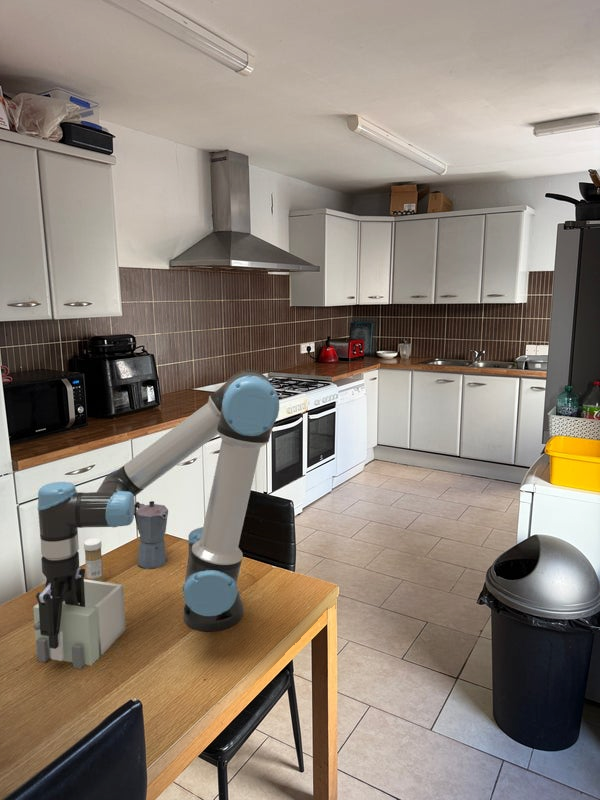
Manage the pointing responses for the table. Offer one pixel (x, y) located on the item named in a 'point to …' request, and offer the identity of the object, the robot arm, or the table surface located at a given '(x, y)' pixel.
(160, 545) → the moka pot
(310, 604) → the table surface
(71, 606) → the door
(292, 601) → the table surface
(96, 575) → the sprinkles bottle
